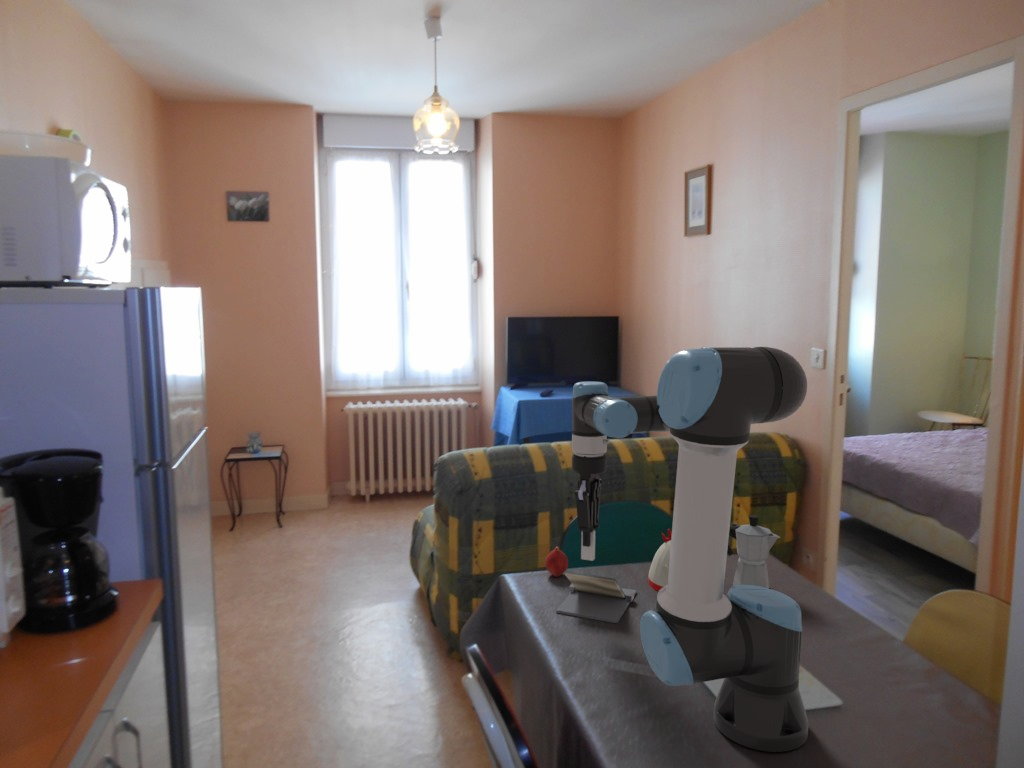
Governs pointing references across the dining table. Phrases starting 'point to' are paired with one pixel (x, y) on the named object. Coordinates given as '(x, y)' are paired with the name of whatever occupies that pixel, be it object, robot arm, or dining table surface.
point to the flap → (595, 584)
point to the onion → (556, 562)
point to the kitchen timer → (660, 565)
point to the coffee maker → (752, 552)
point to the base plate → (595, 606)
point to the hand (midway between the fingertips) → (588, 558)
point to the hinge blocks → (628, 597)
